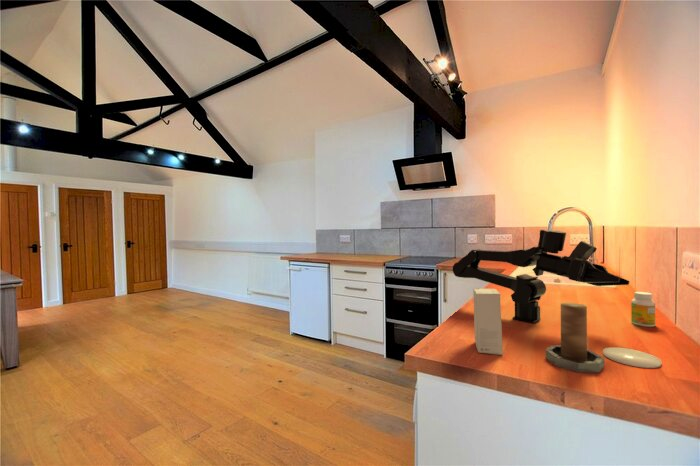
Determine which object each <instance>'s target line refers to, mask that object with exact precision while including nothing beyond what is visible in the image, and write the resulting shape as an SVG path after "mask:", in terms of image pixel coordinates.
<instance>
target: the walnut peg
mask: <svg viewBox="0 0 700 466" xmlns="http://www.w3.org/2000/svg"><path fill="white" fill-rule="evenodd" d="M587 310H588V306H587V305H585V304H581V303H576V302H575V303H574V302H561V303H560V345H561V355H560V357H564V358H568V359H572V360H575V361H588V360H587V350H588V321H587V320H588V313H587V312H588V311H587Z"/></svg>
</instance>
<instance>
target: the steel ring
mask: <svg viewBox="0 0 700 466" xmlns="http://www.w3.org/2000/svg"><path fill="white" fill-rule="evenodd" d="M545 359H546V360H547V361H549V362H550V363H551V364H553V365H554V366H555V367H559V368H561V369H565V370H568V371H573V372H576V373H581V374H582V373H584V374H585V373H586V374H587V373H593V374H599V373H601V371H602V370H603V369H604V368H605V357H603V356H602V355H600V354H598V353H596V352H595V351H593V350H591V349H587V361H575V360H572V359H568V358H564V357H561V344H559V345H558V344H552V345H550V346H549V347H547V348H546V349H545Z"/></svg>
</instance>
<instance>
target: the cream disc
mask: <svg viewBox="0 0 700 466" xmlns="http://www.w3.org/2000/svg"><path fill="white" fill-rule="evenodd" d="M602 354H603V356H604V357H606V358H607V359H609V360H611V361H613V362H616V363H619V364H622V365H628V366H631V367H638V368H642V369H643V368H644V369H656V368H661V367H662V360H661V359H660V358H659V357H657V356H655V355H652V354H650V353H647V352H643V351H639V350H637V349H632V348H631V349H630V348H626V347H625V348H624V347H615V346H614V347H605V348H603V350H602Z"/></svg>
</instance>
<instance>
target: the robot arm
mask: <svg viewBox="0 0 700 466" xmlns="http://www.w3.org/2000/svg"><path fill="white" fill-rule="evenodd" d="M566 237H567V232H565V231H562V230H561V231H560V230H549V229H548V230H547V229H539V238H538V244H537V246H532V247H531V248H525V249H518V250H517V249H516V250H510V251H508V250H493V249H492V250H491V249H490V250H489V249H479V248H478V249H472V250H469V252H468V253H467V254H466V255H465V256H464V257H462V258H460V259H459V260H458V261H457V262H455V263H454V264H453V266H452V273H453V274H454V276H455V277H457V278H463V279H476V280H480V281H482V282H486V283H490V284H493V285H496V286H500V287H504V288H507V289H509V290H511V291H512V292H513V293H511V295H510V297H511V299H512V302H514V316H512V319H513V320H515V321H516V320H517V321H522V322H527V323H531V324H532V323H533V324H534V323H536V322H538V321H541V306H539V301H541V298H542V296H543V295H545V293H546V292H547V287H546V284H545V283H544V281H543V280H542V279H539V277H540V276H543V275H544V273H549V274H553V275H557V276H560V277H564V278H567V279H568V280H570V281H575V282H577V283H583V284H587V285H591V286H592V285H593V286H594V287H607V286H609V287H611V286H613V287H614V286H628V285H629V284H630V281H629V280H628V279H626V278H623V277H621V276H618V275H615V274H613V273H611V272H609V270H608V269H607V267H606V266H604V265H601V264H596V263H593V262H591V261H589V259H590V258H591V256H592V255H593V254H594V253H595V252H596V251H597V247H595V246H593V245H591V244H590V243H588V242H586V241H583V240H581V241H579V242H578V244H577V245H576V246H575V247H574V248H573V250H572V251H571V253H570V254H569V256H566V255H564V256H560V255H557V254H559V252H563V251H564V247H565V246H564V245H565V241H566ZM555 254H556V255H555ZM481 261H484V262H485V261H486V262H502V263H506V264H510V265H513V266H515V267H520V268H528V267H533V266H535V267H534V268H532V271H533V272H534V275H535V276H531V275H529V274H526V273H524V274H519V275H516V276H512V275H508V274H504V273H500V272H496V271H492V270H489V269H484V268H481V267H480V266H479V265H480V263H481Z"/></svg>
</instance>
